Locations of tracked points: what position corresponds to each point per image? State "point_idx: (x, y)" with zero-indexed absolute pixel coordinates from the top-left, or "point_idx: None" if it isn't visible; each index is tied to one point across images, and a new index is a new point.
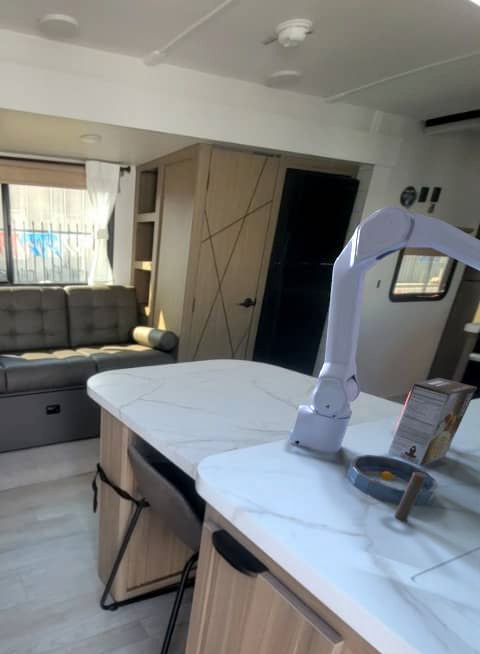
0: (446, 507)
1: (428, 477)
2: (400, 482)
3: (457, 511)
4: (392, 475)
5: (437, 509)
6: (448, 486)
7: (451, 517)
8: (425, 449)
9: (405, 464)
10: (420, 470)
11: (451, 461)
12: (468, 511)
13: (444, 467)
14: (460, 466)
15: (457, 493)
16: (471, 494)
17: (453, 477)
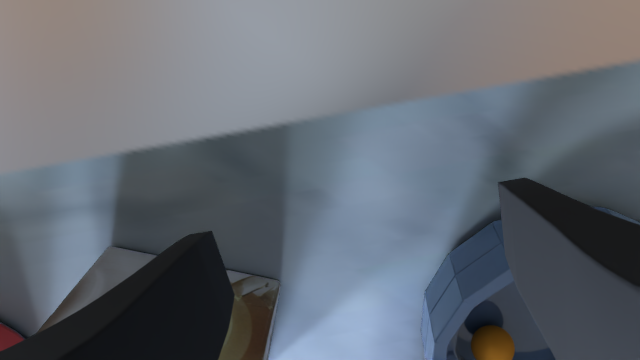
0: (493, 158)
1: (506, 284)
2: (421, 295)
3: (494, 127)
4: (495, 344)
5: (536, 175)
6: (303, 188)
7: (563, 131)
8: (265, 353)
9: (445, 357)
10: (467, 316)
11: (60, 224)
12: (460, 101)
13: (143, 229)
14: (73, 195)
15: (335, 156)
16: (297, 121)
17: (203, 192)
